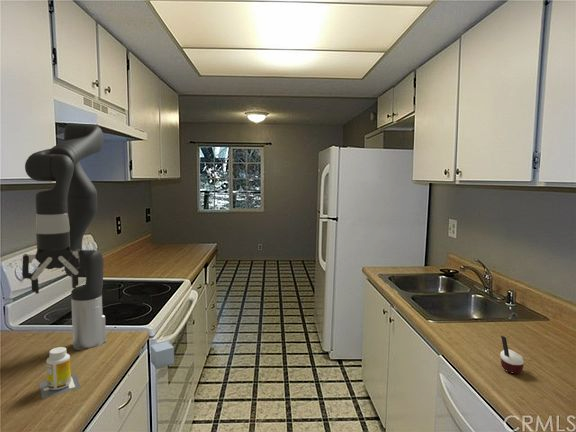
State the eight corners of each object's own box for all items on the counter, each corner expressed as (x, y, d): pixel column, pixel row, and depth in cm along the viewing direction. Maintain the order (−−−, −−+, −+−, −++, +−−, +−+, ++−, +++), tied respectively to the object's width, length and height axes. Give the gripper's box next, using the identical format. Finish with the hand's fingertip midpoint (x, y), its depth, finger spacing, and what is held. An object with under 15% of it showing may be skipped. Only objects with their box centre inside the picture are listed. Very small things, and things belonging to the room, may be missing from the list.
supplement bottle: (74, 379, 107) (73, 345, 106) (65, 390, 102) (63, 354, 101) (54, 380, 107) (52, 345, 106) (43, 391, 101) (41, 355, 100)
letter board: (39, 385, 105) (39, 383, 105) (75, 376, 111) (75, 373, 111) (42, 401, 98) (41, 398, 98) (81, 390, 103) (80, 387, 103)
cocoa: (518, 367, 123) (522, 332, 122) (530, 377, 117) (535, 339, 116) (489, 365, 123) (493, 329, 122) (499, 375, 117) (504, 337, 116)
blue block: (150, 361, 120) (150, 345, 120) (167, 357, 124) (167, 341, 123) (156, 369, 116) (156, 352, 115) (174, 364, 119) (173, 347, 119)
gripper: (81, 226, 107) (83, 282, 109) (19, 230, 98) (22, 290, 100) (85, 230, 101) (87, 289, 103) (20, 234, 92) (24, 298, 94)
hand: (55, 290), depth 101 cm, fingers open, 8 cm apart
